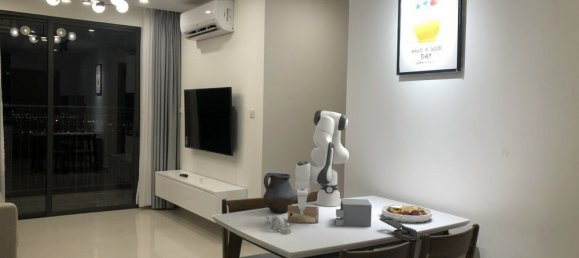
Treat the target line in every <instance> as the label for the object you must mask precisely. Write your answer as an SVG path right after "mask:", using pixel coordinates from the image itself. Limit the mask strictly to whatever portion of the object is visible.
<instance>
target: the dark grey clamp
mask: <svg viewBox="0 0 579 258" xmlns="http://www.w3.org/2000/svg"><path fill="white" fill-rule="evenodd" d="M379 221H381V222H382V223H385V224H387V225H389V226H391V227H393V228H394V230H393V231H392V233H393V234H392V235H393V236H395V237H396V238H399V239H401V240H403V241H407V242H410V241H409V240H411V239H415V240H416V241H415V242H417V241H420V240H421V236H420V235H419V234H418V231H417V229H414V228H412V227H409V226H407V225H406V226H405V225H404V224H403V223H402V222H398V221H396V220H394V219H393V218H391V217H385V216H384V217H379Z"/></svg>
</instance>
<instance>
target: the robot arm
mask: <svg viewBox="0 0 579 258" xmlns="http://www.w3.org/2000/svg"><path fill="white" fill-rule="evenodd" d="M312 122H313V124H314V125H315V126H316V127H315V129H314V133H313V138H312V141H313V143H314V145H316V146H317V147H314V148H313V149H312V151H311V152H310V157H311V161H312V162H313V163H314V164H315V165H317V166H314V165H312V164H311V163H310V161H306V160H303V161H297V163H296V166H295V171H294V178H295V179H294V180H295V181H294V192H295V194H296V198H297V206H298V208H299V209H300V215H303V211H304V209H305V207H306V206H307V200H308V196H309V195H310V194H311V183H312V184H318V185H319V187H320V190H319V191H318V193H316V197H317V199H316V200H315V201H314V205H317V206H322V207H338V206H341V195H340V191H339V190H338V189H339V184H338V172H337V171H336V170H335V169H333V165H341V164H346V163H347V162H348V161H349V159H350V154H349V153H350V152H349V151H348V150H347V148H345V147H344V146H343V144H342V143H341V133H342V131H345V130H346V129H347V127H348V125H349V118H348V116H347V115H346V114H343V113H339V112H335V111H330V110H323V109H317V110H316V111H315V113H314V115H313V118H312Z"/></svg>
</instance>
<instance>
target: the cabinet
mask: <svg viewBox="0 0 579 258" xmlns="http://www.w3.org/2000/svg"><path fill="white" fill-rule="evenodd" d="M340 202H341V205H340V207H339V208H335V216H336V217H335V226H336V227H344V226H346V227H347V226H351V227H352V226H353V227H355V226H356V227H372V209H373V208H372V207H373V205H372V203H371V202H370V200H369V199H368V198H367V199H365V198H364V199H363V198H340Z"/></svg>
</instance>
